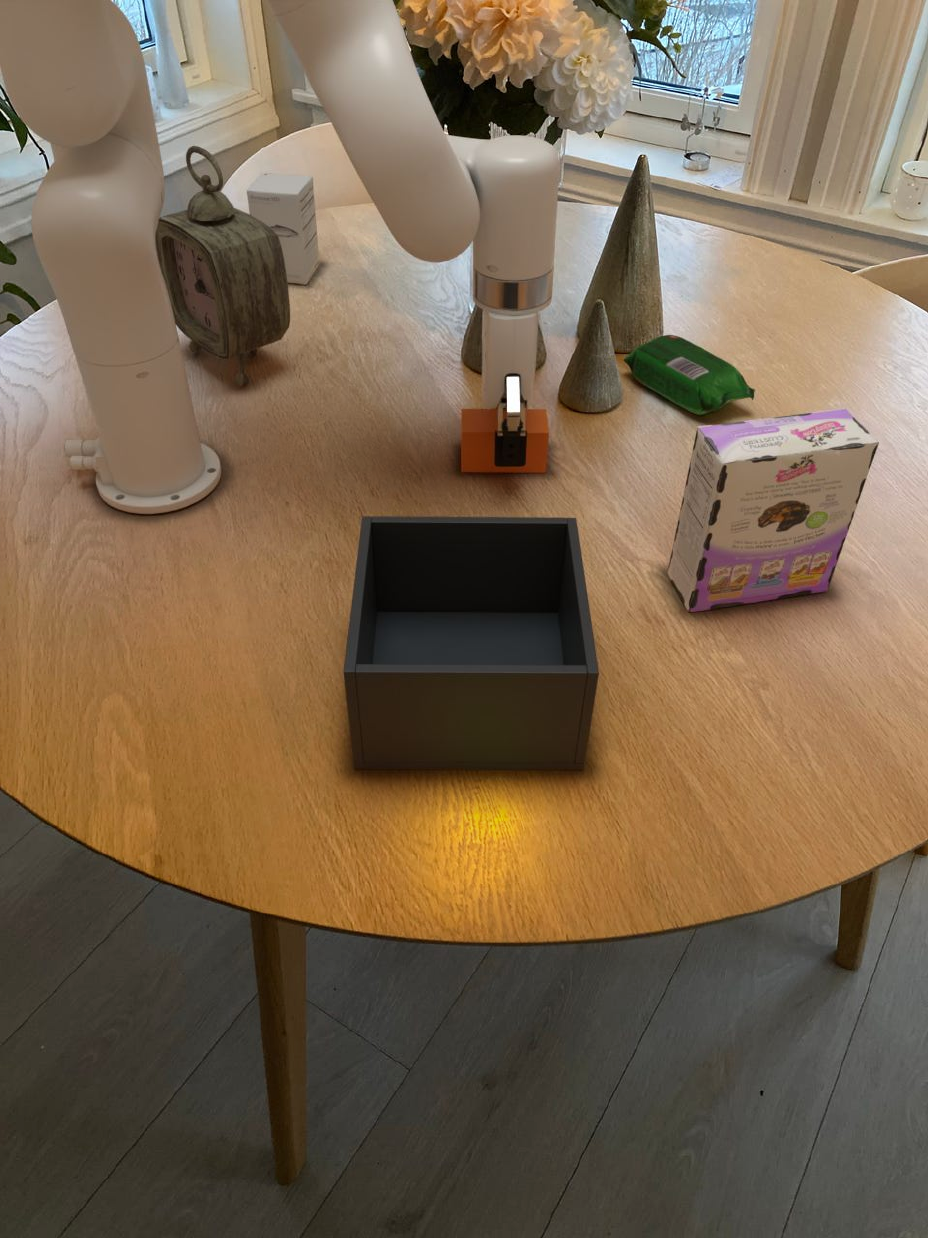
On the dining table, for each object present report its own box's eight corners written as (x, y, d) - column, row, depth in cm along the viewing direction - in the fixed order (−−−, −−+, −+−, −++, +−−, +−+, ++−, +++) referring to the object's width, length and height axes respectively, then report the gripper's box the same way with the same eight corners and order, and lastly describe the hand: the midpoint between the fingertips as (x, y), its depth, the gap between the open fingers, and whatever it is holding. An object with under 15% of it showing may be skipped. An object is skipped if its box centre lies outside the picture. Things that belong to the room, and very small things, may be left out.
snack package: (709, 434, 108) (719, 393, 104) (616, 375, 117) (622, 336, 113) (752, 416, 111) (763, 375, 107) (658, 360, 120) (665, 321, 117)
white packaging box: (256, 281, 135) (243, 189, 127) (272, 260, 141) (261, 170, 132) (307, 286, 134) (297, 193, 126) (321, 264, 140) (313, 174, 131)
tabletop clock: (176, 352, 120) (131, 138, 103) (238, 330, 125) (204, 122, 107) (239, 397, 112) (202, 175, 95) (302, 372, 117) (278, 155, 100)
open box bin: (353, 769, 73) (343, 672, 66) (369, 612, 86) (362, 515, 78) (583, 770, 73) (599, 673, 66) (565, 613, 86) (576, 517, 79)
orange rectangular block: (461, 472, 102) (461, 431, 98) (461, 448, 105) (461, 408, 102) (545, 472, 102) (549, 432, 99) (542, 448, 105) (546, 408, 102)
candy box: (799, 554, 93) (847, 404, 81) (828, 594, 88) (884, 441, 77) (664, 573, 90) (695, 421, 79) (688, 614, 86) (724, 461, 75)
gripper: (471, 246, 96) (471, 396, 108) (473, 326, 84) (473, 487, 96) (546, 245, 96) (538, 396, 108) (559, 325, 84) (548, 486, 96)
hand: (508, 438), depth 102 cm, fingers open, 9 cm apart
